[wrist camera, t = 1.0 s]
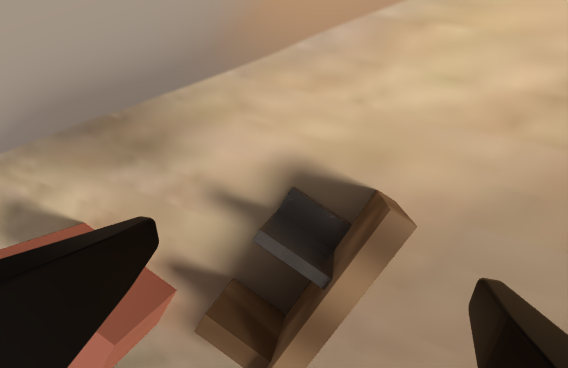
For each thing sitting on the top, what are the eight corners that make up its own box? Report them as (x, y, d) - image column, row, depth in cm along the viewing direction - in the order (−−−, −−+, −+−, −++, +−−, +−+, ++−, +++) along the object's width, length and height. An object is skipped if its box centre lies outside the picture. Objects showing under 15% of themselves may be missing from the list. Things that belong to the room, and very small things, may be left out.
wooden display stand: (275, 362, 24) (253, 434, 18) (210, 314, 24) (168, 369, 18) (395, 201, 20) (417, 226, 14) (316, 150, 21) (305, 154, 15)
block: (157, 323, 26) (89, 389, 19) (68, 257, 27) (-26, 297, 20) (177, 289, 25) (114, 345, 18) (85, 222, 26) (-9, 251, 19)
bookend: (333, 261, 22) (330, 296, 17) (271, 219, 22) (251, 241, 17) (357, 229, 21) (361, 255, 16) (292, 186, 21) (278, 200, 17)
